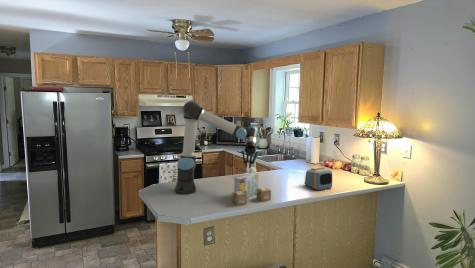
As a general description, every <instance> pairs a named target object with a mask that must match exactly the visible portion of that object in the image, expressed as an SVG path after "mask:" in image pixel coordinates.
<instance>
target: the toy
mask: <svg viewBox="0 0 475 268" xmlns="http://www.w3.org/2000/svg"><path fill="white" fill-rule="evenodd" d="M248 163H250V162H249V161H248ZM256 163H257V162H256V161H255V162H254V164H251V168H249V173H252V172H254V173H257V167H256V166H257V164H256ZM249 173H248V172H244V173H242V174H241V176H242V175H246V174H249Z"/></svg>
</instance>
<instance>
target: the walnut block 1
mask: <svg viewBox="0 0 475 268" xmlns="http://www.w3.org/2000/svg"><path fill="white" fill-rule="evenodd" d="M231 199H232V201H231V202H232V203H233V204H234V205H235V206H238V205H239V206H244V205H245V204H246V205H247V204H248V203H247V202H248V201H247V200H248V197H247V194H246V193H245V192H243V191H237V192H234V191H232V198H231ZM239 206H238V207H239Z"/></svg>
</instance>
